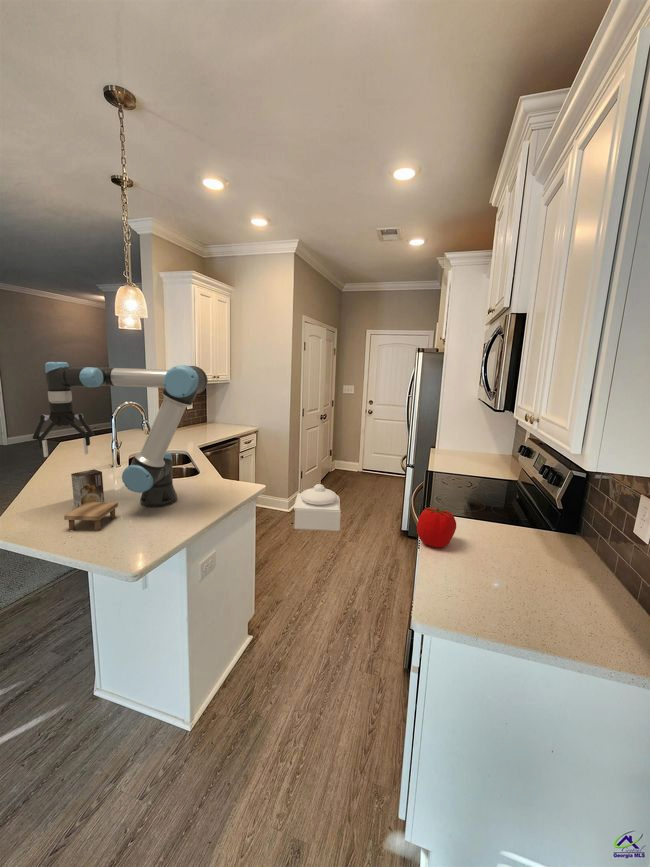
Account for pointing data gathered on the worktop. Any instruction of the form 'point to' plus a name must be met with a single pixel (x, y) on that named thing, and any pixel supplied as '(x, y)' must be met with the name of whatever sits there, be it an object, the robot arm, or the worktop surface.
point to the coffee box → (87, 487)
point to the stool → (91, 513)
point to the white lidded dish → (317, 509)
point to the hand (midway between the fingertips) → (66, 455)
